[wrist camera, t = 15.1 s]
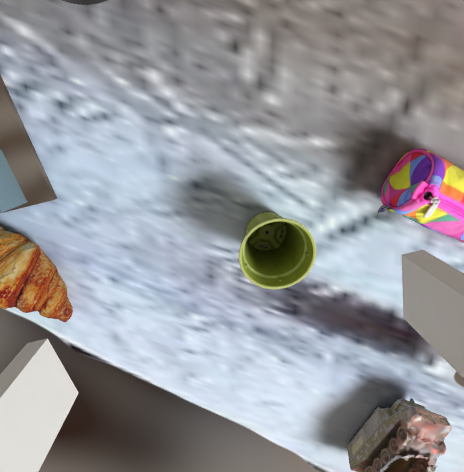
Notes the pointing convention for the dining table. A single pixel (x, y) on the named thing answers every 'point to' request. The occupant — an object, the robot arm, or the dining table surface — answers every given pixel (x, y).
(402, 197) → the pencil case
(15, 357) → the robot arm
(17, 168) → the board
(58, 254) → the dining table surface
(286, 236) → the plant pot
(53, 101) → the dining table surface
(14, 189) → the socket
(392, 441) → the olive toy tank
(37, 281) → the croissant
